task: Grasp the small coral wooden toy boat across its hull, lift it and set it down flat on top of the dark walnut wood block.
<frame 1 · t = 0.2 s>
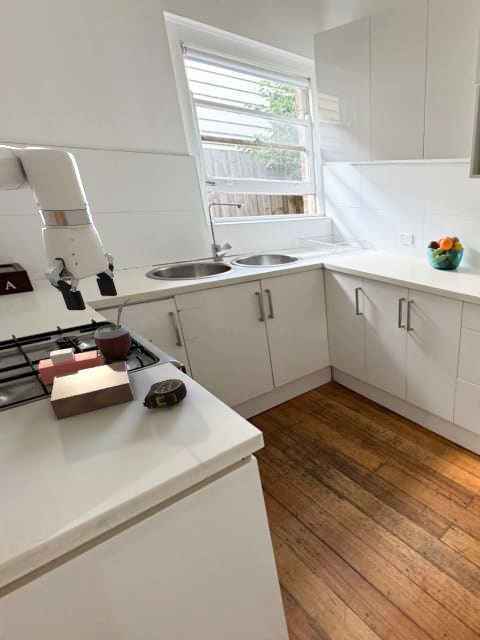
hand: (94, 302, 81), 17 cm above the worktop, tool pointing down, fingers open, 9 cm apart
tape measure: (165, 403, 78), on the worktop
mate gourd: (121, 357, 96), on the worktop
toy boat: (74, 374, 87), on the worktop
wood block: (97, 395, 80), on the worktop
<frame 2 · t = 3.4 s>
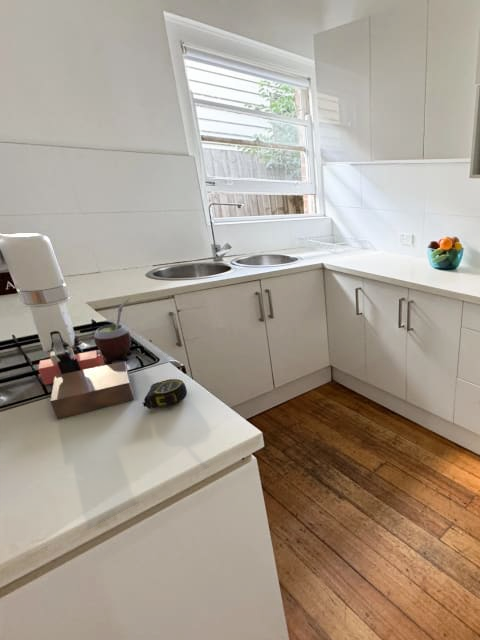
hand: (73, 370, 87), 1 cm above the worktop, tool pointing down, fingers closed on toy boat, 4 cm apart
toy boat: (74, 374, 87), on the worktop, touching gripper
everything else where it was.
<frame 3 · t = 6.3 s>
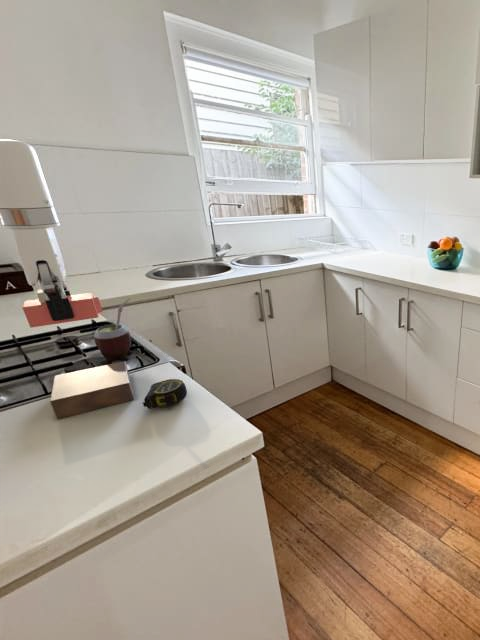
hand: (64, 314, 74), 17 cm above the worktop, tool pointing down, fingers closed on toy boat, 4 cm apart
toy boat: (66, 318, 75), point 16 cm above the worktop, touching gripper
everything else where it was.
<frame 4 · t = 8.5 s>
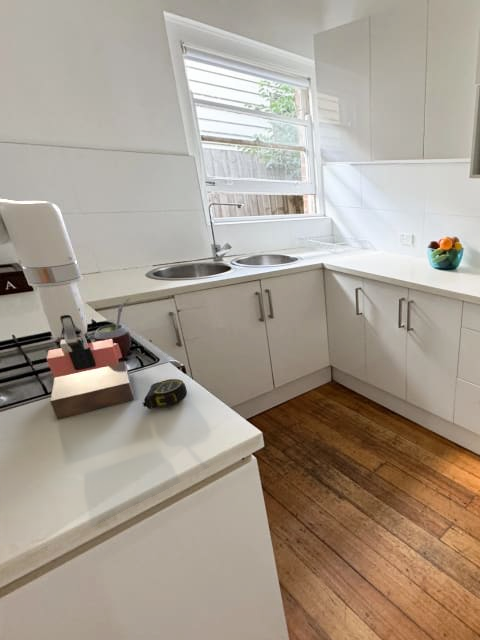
hand: (85, 361, 76), 8 cm above the worktop, tool pointing down, fingers closed on toy boat, 4 cm apart
toy boat: (87, 366, 77), point 7 cm above the worktop, touching gripper
everything else where it was.
when the fingers open (5 cm above the worktop, at t = 9.7 s): toy boat stays where it is, resting on wood block.
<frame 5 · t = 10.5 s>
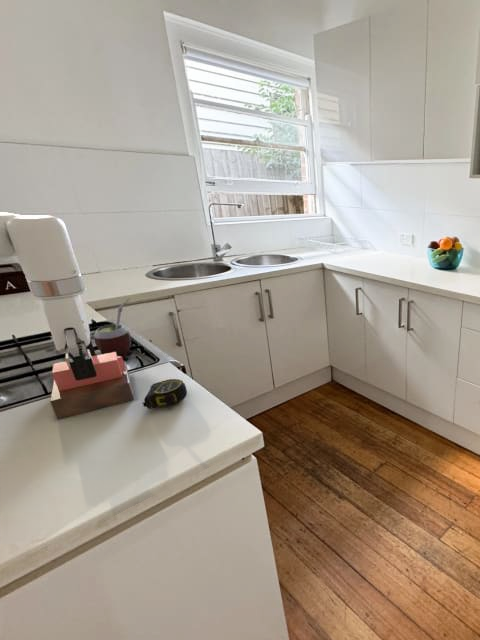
hand: (86, 368, 77), 6 cm above the worktop, tool pointing down, fingers open, 9 cm apart
toy boat: (91, 379, 78), point 4 cm above the worktop, touching wood block
everything else where it was.
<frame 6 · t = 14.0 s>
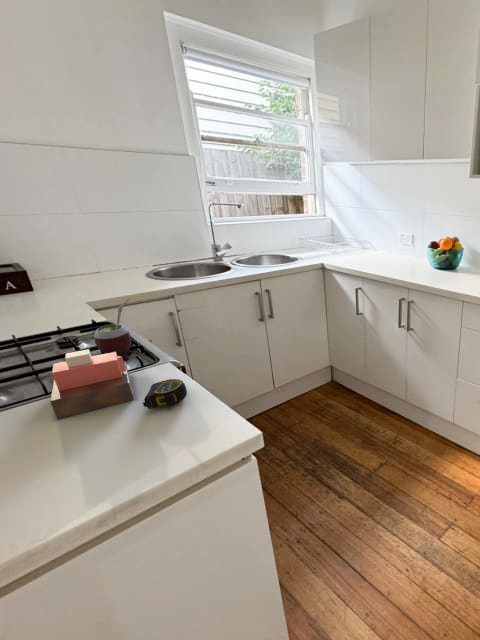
nothing on the worktop moved.
at the end: toy boat inside the target area on the wood block (0.1 cm from its centre), point 4.0 cm above the wood block's base; toy boat tilted 0°; the gripper is holding nothing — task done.
